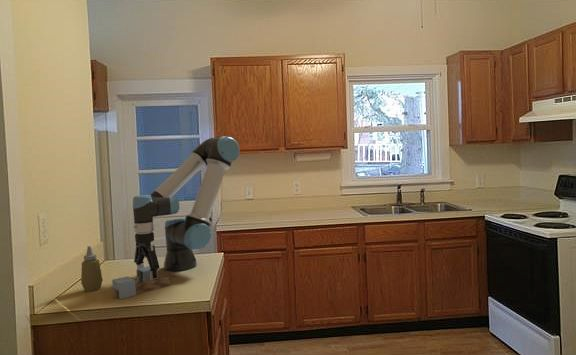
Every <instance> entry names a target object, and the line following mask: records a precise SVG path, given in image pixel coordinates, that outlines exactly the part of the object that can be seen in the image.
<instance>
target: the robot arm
mask: <svg viewBox="0 0 576 355" xmlns="http://www.w3.org/2000/svg"><path fill="white" fill-rule="evenodd" d="M239 156H240V146H239V143H238V142H237V140H235V139H234V138H233V137H231V136H221V137H210V138H207V139H206V140H204V141H203V142H202V143H200V144H199V145H198V146H197V147H196V148H195V149H194V150H192V152H190V153H189V157H188V158H187V159H186V160H185V161H184V162H183V163H182V164H181V165H180V166H178V168H177V169H176V170H175V171H174V172H172V173H171V175H169V176H168V178H166V179H165V180H164V181H163V182H162V183H161V184H160V185H159V186H158V187H157V188H156V189H155V190H154V191H153V192H151V193H150V194H143V195H136V196H133V198H132V211H133V212H132V213H133V224H134V225H133V228H134V233H135V234H134V238H135V252H134V260H133V262H134V263H135V265H136V270H137V269H139V268H143V267H145V266H144V263H145V262H144V260H145V258H146V261H147V264H148V266H150V270H149V271H150V280H154V279H158V278H159V277H158V278H157V269H158V270H159V269H160V265H159V264H160V263H159V260H158V257H157V253H156V246H155V245H154V244H153V245H152V244H151V243H152V242H154V241H155V233H154V230H155V228H154V218H157V217H162V216H172V215H176V214H178V213H179V210H180V202H179V199H178V198H177V197H176V196H174V195H175V194H176V193H178V192H179V191H180V190H181V188H182V187H184V185H186V184H187V183H188V182H189V181H190V180H191V178H193V177H194V176H195V175H196V174H197V173H198V172H199V171H200V170H201V169H205V168H206V169H205V172H204V174H203V177H202V181H201V183H200V186H199V189H198V192H197V194H196V198H195V201H194V203H193V206H192V209H191V212H190V213H188V214H187V215H186V216H185V217H180V218H173V219H168V220H166V221H165V223H164V232H165V234H164V235H165V245H166V254H165V257H164V260H163V261H164V262H163V269H164V270H165V271H172V272H173V271H176V272H178V271H184V270H189V269H192V268H195V267H197V265H198V264H197V262H198V261H197V259H196V255H195V254H194V251H193V250H201V249H204V248H205V247H207V246H208V245H209V244H210V242H211V239H212V231H211V228H210V227H211V225H212V223H211V220H210V217H211V215H212V211H213V209H214V205H215V203H216V199H217V198H218V194H219V191H220V187H221V184H222V181H223V179H224V176H225V173H226V171H228V170H229V169H230V168H231V166H232V163H233V162H235V161H236V160H238V158H239Z"/></svg>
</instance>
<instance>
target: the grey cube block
mask: <svg viewBox="0 0 576 355" xmlns="http://www.w3.org/2000/svg"><path fill="white" fill-rule="evenodd" d="M149 270H150V266H149V265H148V266H144V267H143V268H139V269H137V268H136V278H137V283H141V282H145V281H150V271H149ZM158 270H159V269H157V278H159V271H158Z"/></svg>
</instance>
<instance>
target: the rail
mask: <svg viewBox="0 0 576 355" xmlns="http://www.w3.org/2000/svg"><path fill="white" fill-rule="evenodd" d="M170 279H171V278H170V277H168V276H162V277H158V279H154V280H150V281H145V282H143V281H142V282H137V283H136V286H135V287H136V295H137V294H139V293H144V292H149V291H153V290H156V289H160V288H165V287H169V286H170V285H171V280H170ZM111 291H112V292H111V293H112V298H113V299H116V300H117V299H119V291H118V290H117V289H113V288H112V289H111Z"/></svg>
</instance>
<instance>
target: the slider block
mask: <svg viewBox="0 0 576 355" xmlns="http://www.w3.org/2000/svg"><path fill="white" fill-rule="evenodd" d="M136 282H137V281H136V279H135V278H133V277H130V276H128V275H127V276H124V277H119V278H114V279H112V289H117V290H118V291H119V298H118V299H120V300H122V299H126V298H131V297H135V296H137V294H136V287H135V286H136V284H137V283H136Z"/></svg>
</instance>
